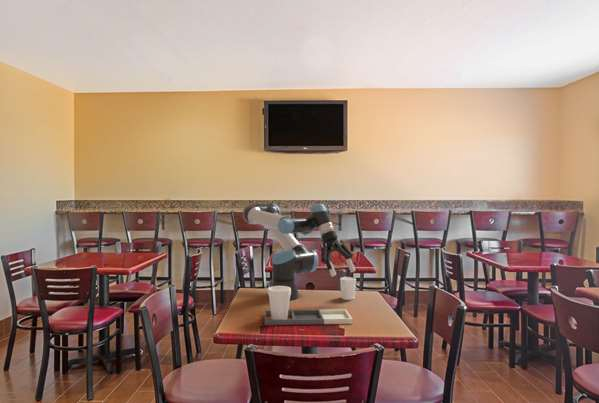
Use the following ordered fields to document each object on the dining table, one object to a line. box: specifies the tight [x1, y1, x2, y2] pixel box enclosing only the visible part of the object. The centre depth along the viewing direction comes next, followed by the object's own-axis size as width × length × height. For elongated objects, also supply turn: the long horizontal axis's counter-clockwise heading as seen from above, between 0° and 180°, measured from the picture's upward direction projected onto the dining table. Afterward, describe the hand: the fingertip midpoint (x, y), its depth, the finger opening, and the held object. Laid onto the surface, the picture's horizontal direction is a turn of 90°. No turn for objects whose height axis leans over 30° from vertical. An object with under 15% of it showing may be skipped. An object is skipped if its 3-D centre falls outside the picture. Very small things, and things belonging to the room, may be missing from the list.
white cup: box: [339, 276, 357, 301], centre depth 201 cm, size 8×8×10 cm
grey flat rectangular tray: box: [264, 308, 353, 326], centre depth 166 cm, size 35×13×2 cm, turn 95°
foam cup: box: [267, 286, 291, 320], centre depth 165 cm, size 10×9×13 cm
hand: (343, 273), depth 190 cm, fingers open, 13 cm apart
